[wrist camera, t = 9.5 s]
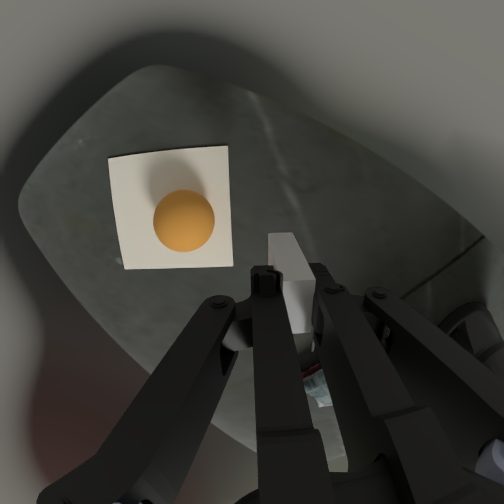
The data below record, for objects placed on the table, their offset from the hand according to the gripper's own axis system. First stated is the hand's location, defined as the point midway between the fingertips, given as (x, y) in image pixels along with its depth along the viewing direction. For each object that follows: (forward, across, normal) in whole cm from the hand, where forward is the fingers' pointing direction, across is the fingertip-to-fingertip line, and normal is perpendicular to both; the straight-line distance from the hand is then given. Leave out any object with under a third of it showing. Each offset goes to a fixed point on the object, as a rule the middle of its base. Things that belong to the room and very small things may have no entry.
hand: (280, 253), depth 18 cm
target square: (+10, +10, -1) cm, 14 cm away
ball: (+7, +8, 0) cm, 10 cm away
